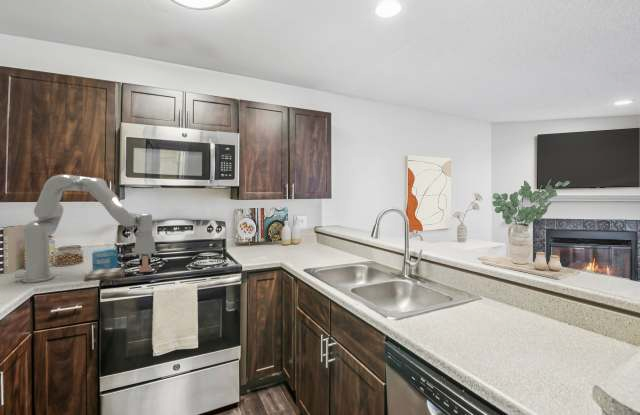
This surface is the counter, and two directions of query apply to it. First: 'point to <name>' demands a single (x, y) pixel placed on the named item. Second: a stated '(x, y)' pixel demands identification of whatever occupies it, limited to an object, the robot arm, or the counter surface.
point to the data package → (105, 259)
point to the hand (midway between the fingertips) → (145, 265)
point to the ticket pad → (104, 274)
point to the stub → (144, 265)
